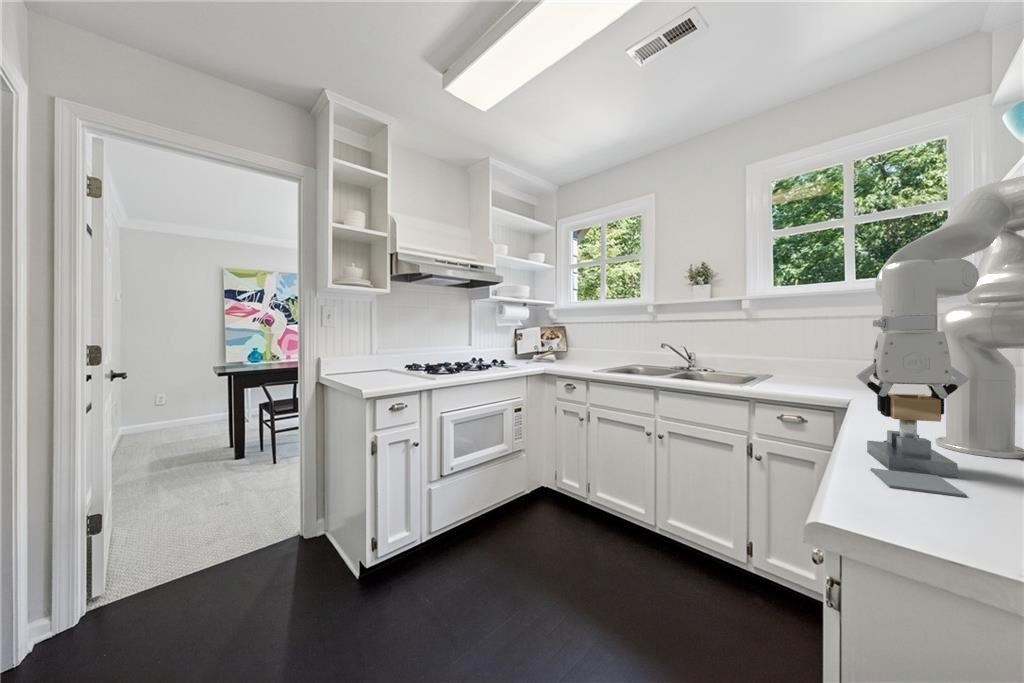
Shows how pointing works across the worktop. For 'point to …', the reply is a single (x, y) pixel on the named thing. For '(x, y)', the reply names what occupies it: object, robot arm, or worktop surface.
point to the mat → (917, 482)
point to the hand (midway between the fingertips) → (909, 415)
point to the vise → (910, 452)
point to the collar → (915, 407)
